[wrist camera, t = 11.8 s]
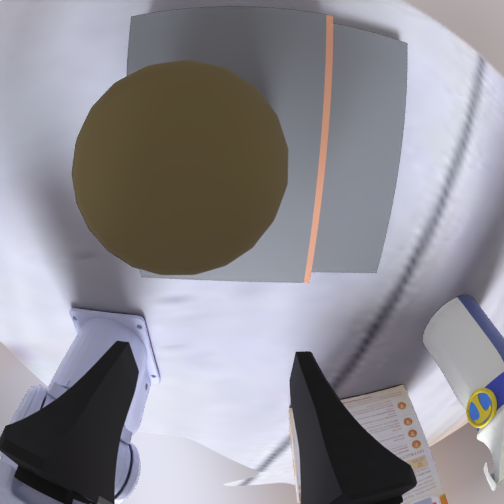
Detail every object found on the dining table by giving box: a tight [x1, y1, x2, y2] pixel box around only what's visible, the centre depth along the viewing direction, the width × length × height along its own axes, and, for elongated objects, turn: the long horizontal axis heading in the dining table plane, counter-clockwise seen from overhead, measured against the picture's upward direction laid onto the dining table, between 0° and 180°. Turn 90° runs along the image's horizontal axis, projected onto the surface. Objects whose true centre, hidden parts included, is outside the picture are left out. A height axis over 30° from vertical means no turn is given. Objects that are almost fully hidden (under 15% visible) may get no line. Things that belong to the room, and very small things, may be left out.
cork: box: [72, 60, 289, 275], centre depth 10 cm, size 6×6×11 cm
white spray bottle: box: [423, 295, 504, 491], centre depth 14 cm, size 8×9×25 cm
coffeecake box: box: [289, 385, 448, 504], centre depth 23 cm, size 15×7×20 cm, turn 97°
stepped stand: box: [127, 6, 407, 283], centre depth 16 cm, size 17×17×3 cm
